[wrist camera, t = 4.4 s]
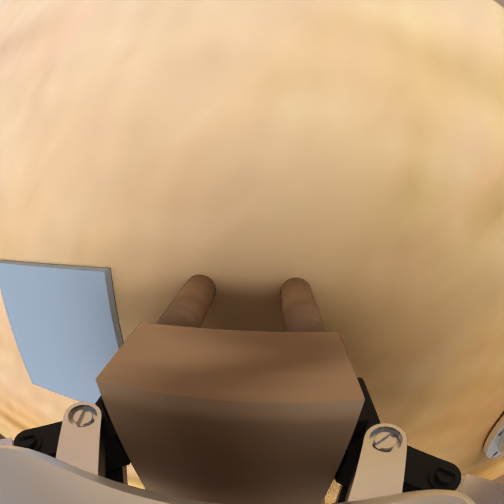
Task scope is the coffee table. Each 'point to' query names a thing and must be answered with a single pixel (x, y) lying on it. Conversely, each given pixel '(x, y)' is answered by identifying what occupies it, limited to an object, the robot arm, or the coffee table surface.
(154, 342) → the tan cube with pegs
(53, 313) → the mat
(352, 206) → the coffee table surface
